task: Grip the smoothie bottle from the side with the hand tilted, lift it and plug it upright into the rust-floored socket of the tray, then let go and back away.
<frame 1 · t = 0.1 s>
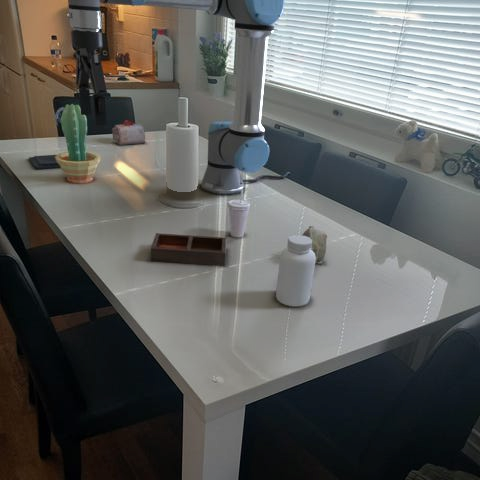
hand: (93, 119, 137), 28 cm above the table, tool pointing down, fingers open, 13 cm apart
smoothie: (236, 235, 148), on the table
pill bottle: (292, 299, 117), on the table
food item: (129, 143, 230), on the table
wallet: (58, 163, 196), on the table
tray: (189, 255, 133), on the table
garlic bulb: (311, 259, 137), on the table
potted cactus: (80, 179, 181), on the table
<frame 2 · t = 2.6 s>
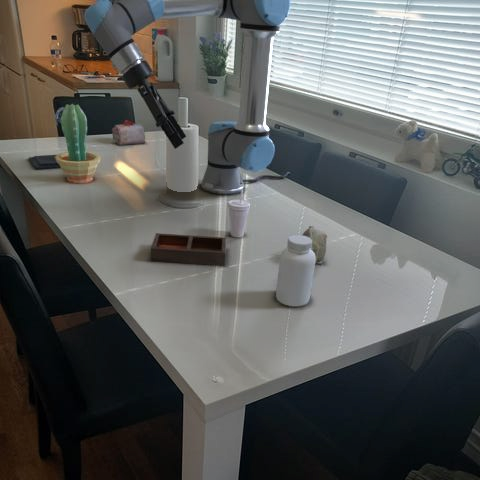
hand: (181, 142, 135), 25 cm above the table, tool tilted 35°, fingers open, 13 cm apart
nothing on the table moved.
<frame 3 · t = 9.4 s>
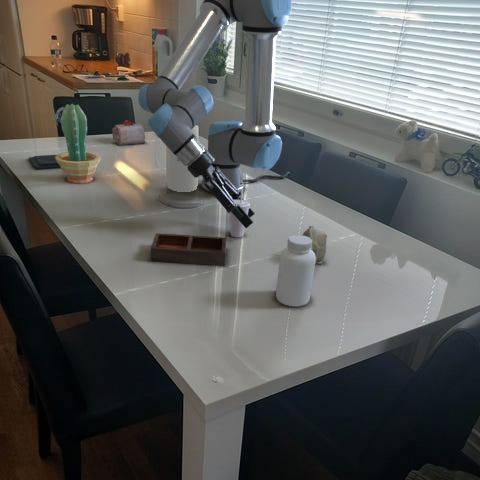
hand: (250, 220, 145), 5 cm above the table, tool tilted 45°, fingers closed on smoothie, 6 cm apart
smoothie: (236, 235, 148), on the table, touching gripper
everything else where it was.
when the fingers open (6 cm above the table, at t = 18.6 s): smoothie stays where it is, resting on tray.
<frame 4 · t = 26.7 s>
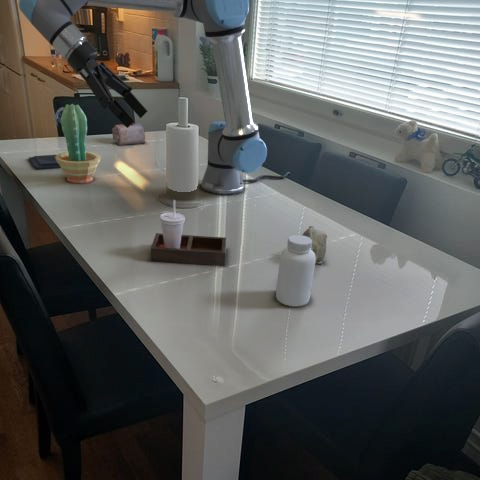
hand: (138, 119, 133), 30 cm above the table, tool tilted 45°, fingers open, 13 cm apart
smoothie: (172, 252, 133), point 1 cm above the table, touching tray
everything else where it was.
at the end: smoothie 0.1 cm from the target spot in the tray, point 0.6 cm above the tray's base; smoothie tilted 0°; the gripper is holding nothing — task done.
